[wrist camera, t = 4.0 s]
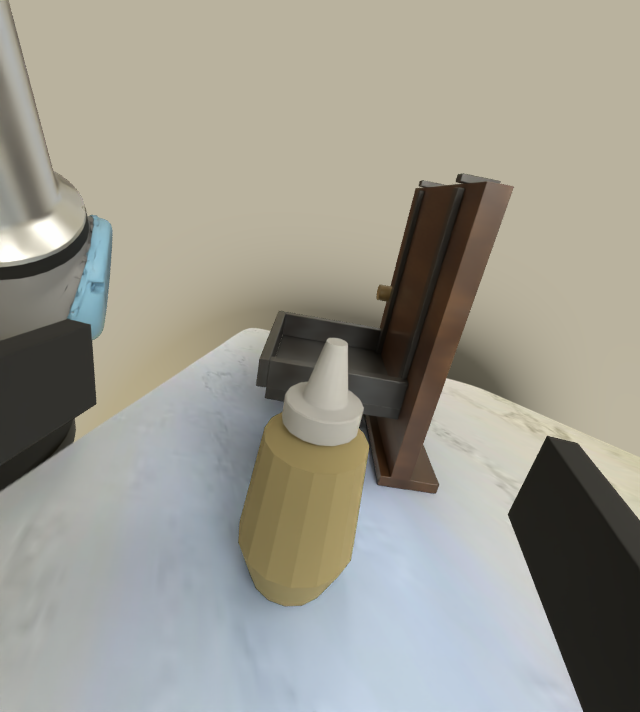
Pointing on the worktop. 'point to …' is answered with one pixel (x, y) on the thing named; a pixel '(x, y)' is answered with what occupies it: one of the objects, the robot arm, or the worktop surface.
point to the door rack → (403, 326)
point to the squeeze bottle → (306, 486)
